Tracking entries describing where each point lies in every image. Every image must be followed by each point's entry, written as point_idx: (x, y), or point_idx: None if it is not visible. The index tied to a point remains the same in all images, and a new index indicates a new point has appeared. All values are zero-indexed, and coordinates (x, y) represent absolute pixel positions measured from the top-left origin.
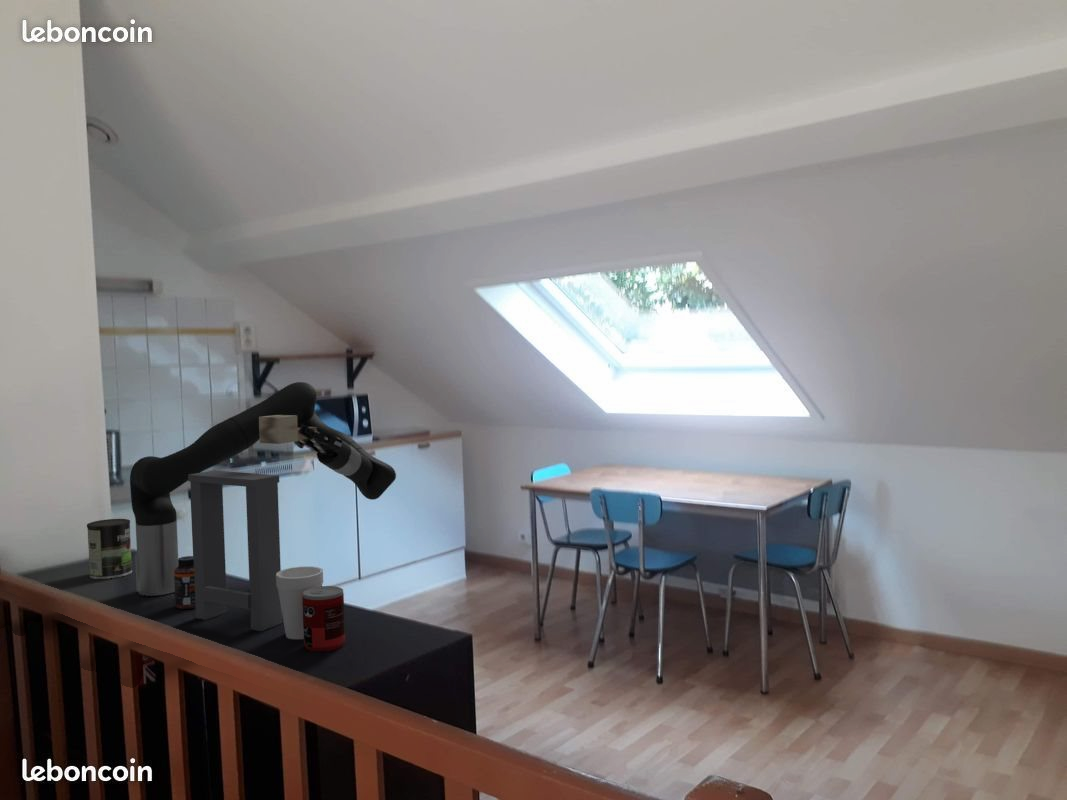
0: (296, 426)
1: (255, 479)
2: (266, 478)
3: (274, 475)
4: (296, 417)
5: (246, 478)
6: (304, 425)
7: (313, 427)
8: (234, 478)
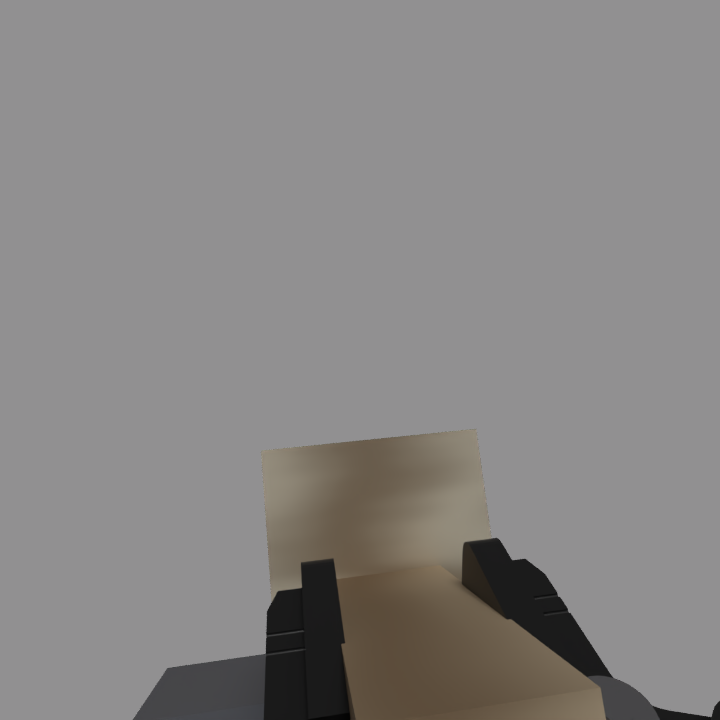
0: (270, 546)
1: (171, 672)
2: (151, 694)
3: (152, 716)
4: (262, 467)
5: (220, 666)
6: (302, 572)
7: (380, 693)
8: (264, 654)
